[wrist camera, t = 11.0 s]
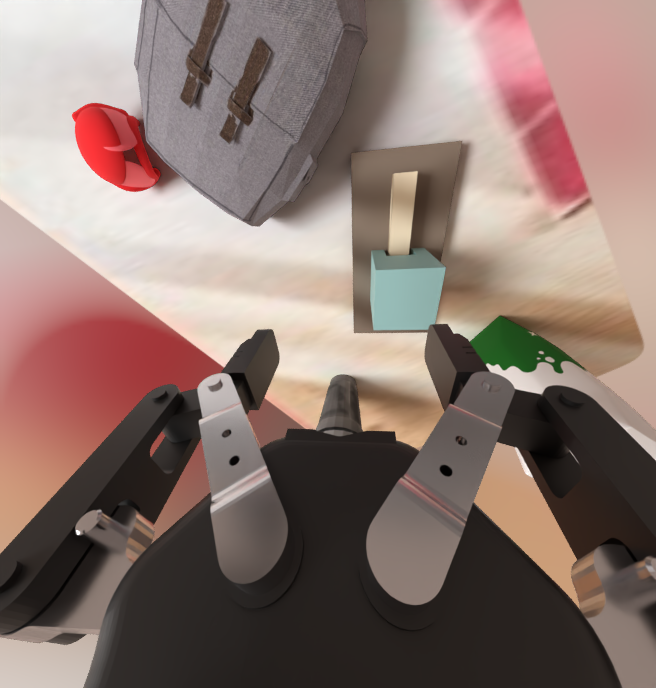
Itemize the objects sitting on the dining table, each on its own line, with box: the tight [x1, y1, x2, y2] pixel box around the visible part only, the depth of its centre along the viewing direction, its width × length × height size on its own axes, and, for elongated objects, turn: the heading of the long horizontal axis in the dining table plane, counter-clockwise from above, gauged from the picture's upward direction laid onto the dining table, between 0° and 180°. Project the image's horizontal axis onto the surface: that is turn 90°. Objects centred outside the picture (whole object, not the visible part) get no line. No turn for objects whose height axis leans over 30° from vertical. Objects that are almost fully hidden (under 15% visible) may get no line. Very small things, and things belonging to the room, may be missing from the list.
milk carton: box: [470, 316, 656, 477], centre depth 25 cm, size 9×9×20 cm
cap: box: [72, 103, 161, 192], centre depth 23 cm, size 8×6×6 cm
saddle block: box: [370, 248, 446, 330], centre depth 25 cm, size 6×6×8 cm
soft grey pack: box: [134, 0, 367, 226], centre depth 19 cm, size 15×8×20 cm
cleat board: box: [351, 141, 462, 333], centre depth 27 cm, size 20×10×3 cm, turn 4°
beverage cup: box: [316, 375, 363, 436], centre depth 32 cm, size 7×7×20 cm
